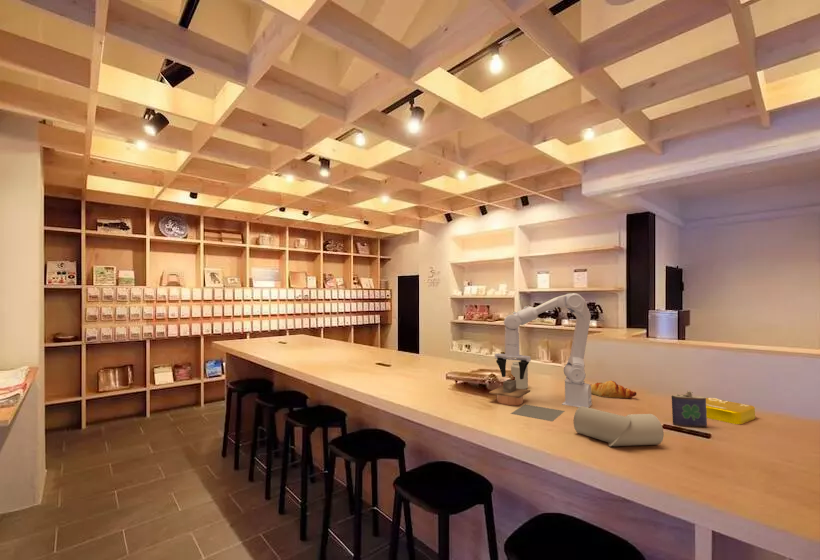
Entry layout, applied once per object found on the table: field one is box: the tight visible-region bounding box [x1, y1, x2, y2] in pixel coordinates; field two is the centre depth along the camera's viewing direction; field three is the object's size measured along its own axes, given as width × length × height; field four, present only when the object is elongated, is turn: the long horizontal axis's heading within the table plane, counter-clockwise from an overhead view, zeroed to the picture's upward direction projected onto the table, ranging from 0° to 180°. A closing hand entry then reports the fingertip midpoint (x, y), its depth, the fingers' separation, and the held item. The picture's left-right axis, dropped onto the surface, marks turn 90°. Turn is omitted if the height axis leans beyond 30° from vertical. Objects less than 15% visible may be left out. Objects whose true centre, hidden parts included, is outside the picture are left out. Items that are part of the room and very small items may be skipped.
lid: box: [488, 379, 531, 398], centre depth 157 cm, size 12×12×5 cm
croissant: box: [589, 380, 637, 399], centre depth 168 cm, size 21×10×8 cm, turn 53°
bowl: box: [496, 395, 524, 406], centre depth 157 cm, size 10×10×4 cm
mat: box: [510, 404, 565, 422], centre depth 142 cm, size 15×15×1 cm
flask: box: [671, 390, 708, 429], centre depth 128 cm, size 10×3×12 cm, turn 78°
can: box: [510, 361, 529, 390], centre depth 182 cm, size 8×8×12 cm
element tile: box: [705, 397, 756, 425], centre depth 139 cm, size 15×15×5 cm
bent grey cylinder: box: [573, 406, 665, 447], centre depth 116 cm, size 18×10×20 cm
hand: (512, 377), depth 158 cm, fingers open, 7 cm apart
